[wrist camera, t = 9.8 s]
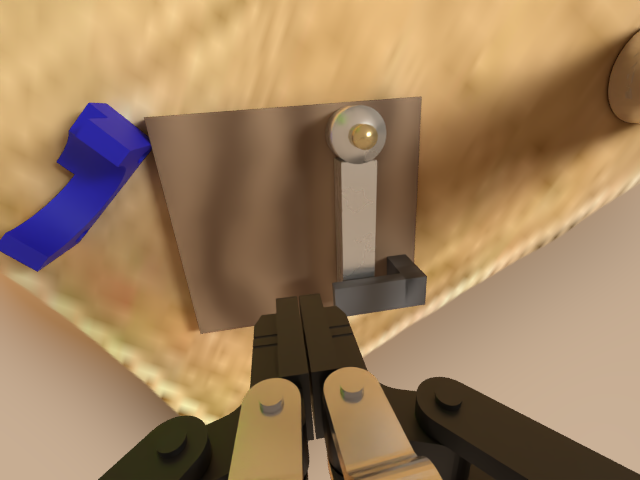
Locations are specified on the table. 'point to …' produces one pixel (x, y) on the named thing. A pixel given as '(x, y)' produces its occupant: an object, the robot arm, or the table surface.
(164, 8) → the table surface
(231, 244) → the board
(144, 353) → the table surface
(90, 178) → the cable clip
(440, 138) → the table surface
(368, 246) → the link
